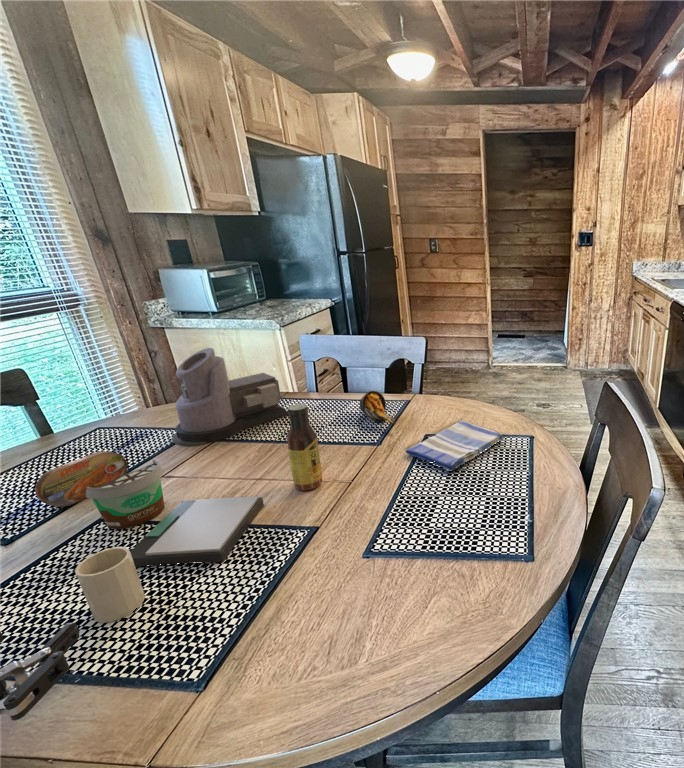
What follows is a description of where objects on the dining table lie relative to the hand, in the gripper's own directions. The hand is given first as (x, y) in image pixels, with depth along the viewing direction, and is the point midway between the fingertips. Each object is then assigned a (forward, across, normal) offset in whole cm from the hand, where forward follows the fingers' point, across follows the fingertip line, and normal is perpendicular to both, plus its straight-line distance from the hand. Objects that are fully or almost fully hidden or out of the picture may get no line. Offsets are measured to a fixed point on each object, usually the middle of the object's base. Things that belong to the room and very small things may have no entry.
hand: (36, 630), depth 53 cm
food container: (+34, +11, +8) cm, 37 cm away
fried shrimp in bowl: (+80, -28, +8) cm, 85 cm away
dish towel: (+60, -53, +8) cm, 81 cm away
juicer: (+79, +15, +8) cm, 81 cm away
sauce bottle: (+44, -18, +8) cm, 48 cm away
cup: (+11, 0, +8) cm, 14 cm away
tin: (+44, +29, +8) cm, 53 cm away
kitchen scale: (+28, -3, +8) cm, 29 cm away
